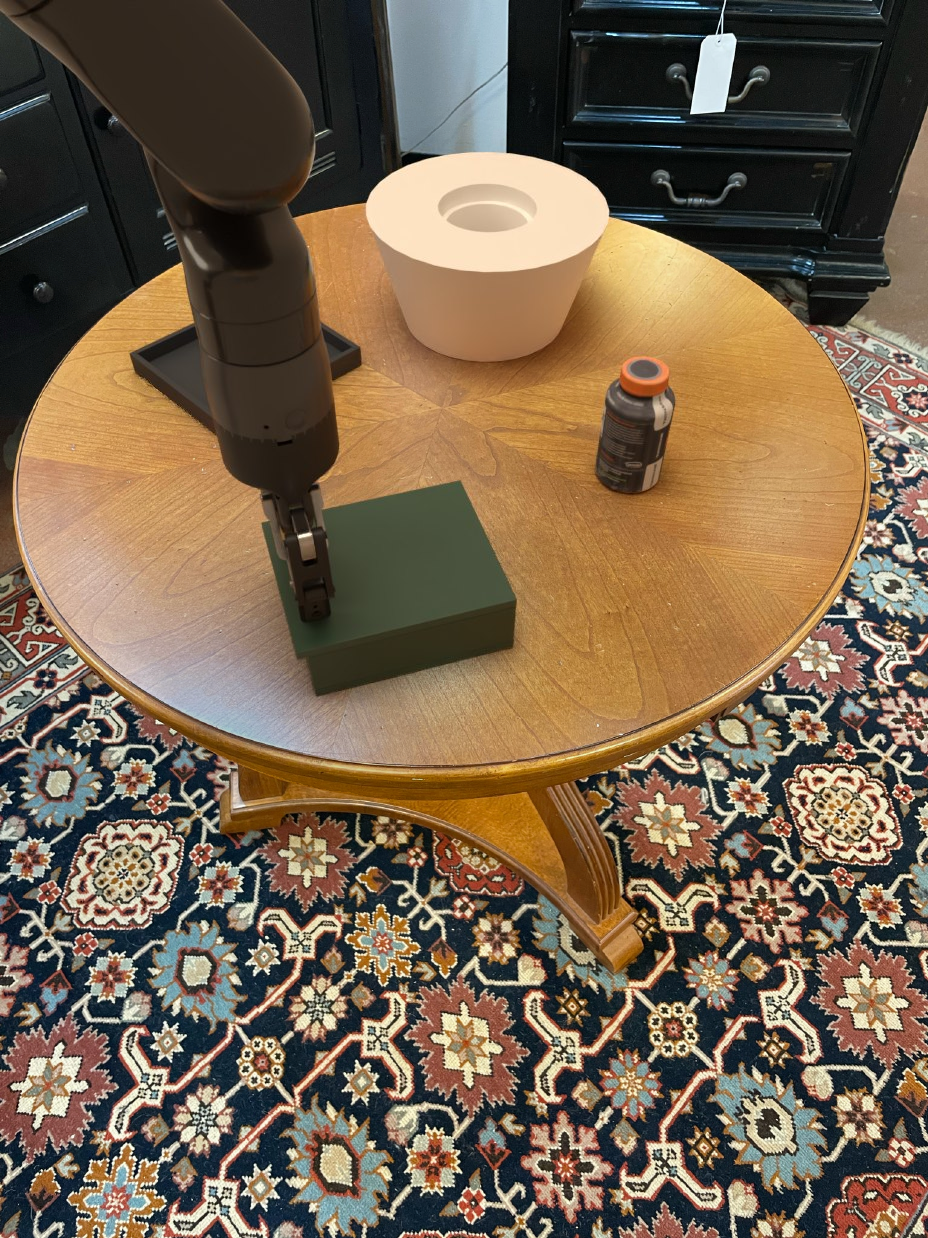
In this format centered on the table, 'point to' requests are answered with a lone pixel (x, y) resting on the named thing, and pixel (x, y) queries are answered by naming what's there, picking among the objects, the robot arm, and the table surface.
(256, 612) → the table surface
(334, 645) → the chest lid
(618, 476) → the pill bottle
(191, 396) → the tray
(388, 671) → the green chest
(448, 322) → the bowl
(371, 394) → the table surface
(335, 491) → the table surface
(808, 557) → the table surface
